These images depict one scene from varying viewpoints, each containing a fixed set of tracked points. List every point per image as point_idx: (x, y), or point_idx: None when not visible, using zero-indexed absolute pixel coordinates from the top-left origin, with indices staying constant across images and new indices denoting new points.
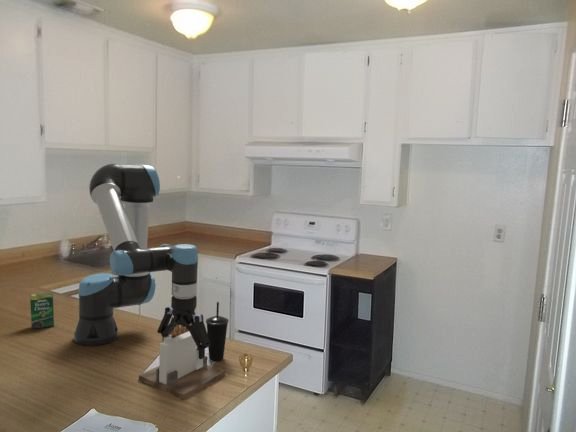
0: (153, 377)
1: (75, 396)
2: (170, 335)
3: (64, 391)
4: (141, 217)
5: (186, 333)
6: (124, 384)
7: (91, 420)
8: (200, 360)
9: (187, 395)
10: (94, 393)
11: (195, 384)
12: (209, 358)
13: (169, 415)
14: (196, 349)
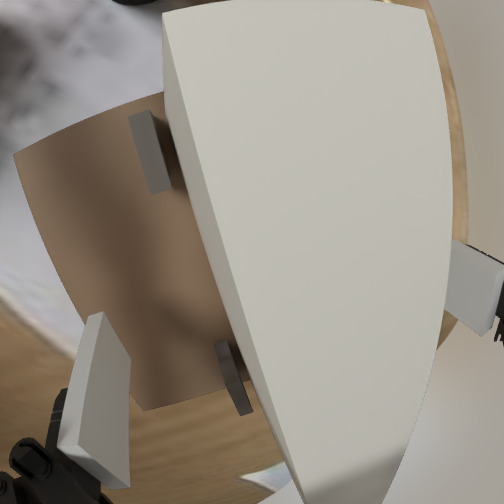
0: (195, 378)
1: (165, 491)
2: (72, 449)
3: (130, 496)
4: None
5: (322, 424)
6: (155, 429)
7: (285, 474)
8: None
9: None
10: (171, 474)
11: None
12: (126, 2)
13: None
14: (494, 338)
